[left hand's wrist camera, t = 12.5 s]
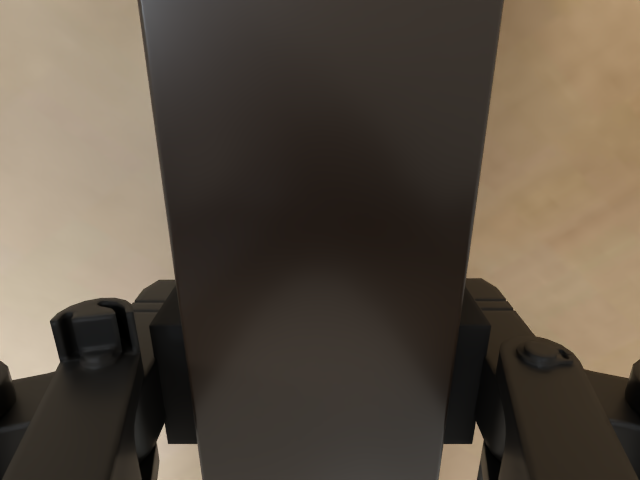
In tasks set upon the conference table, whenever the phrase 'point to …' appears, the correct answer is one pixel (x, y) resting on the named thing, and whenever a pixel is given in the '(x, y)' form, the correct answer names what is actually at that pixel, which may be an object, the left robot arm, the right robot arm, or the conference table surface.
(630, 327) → the conference table surface
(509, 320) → the left robot arm
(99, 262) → the conference table surface
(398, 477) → the metal bar
